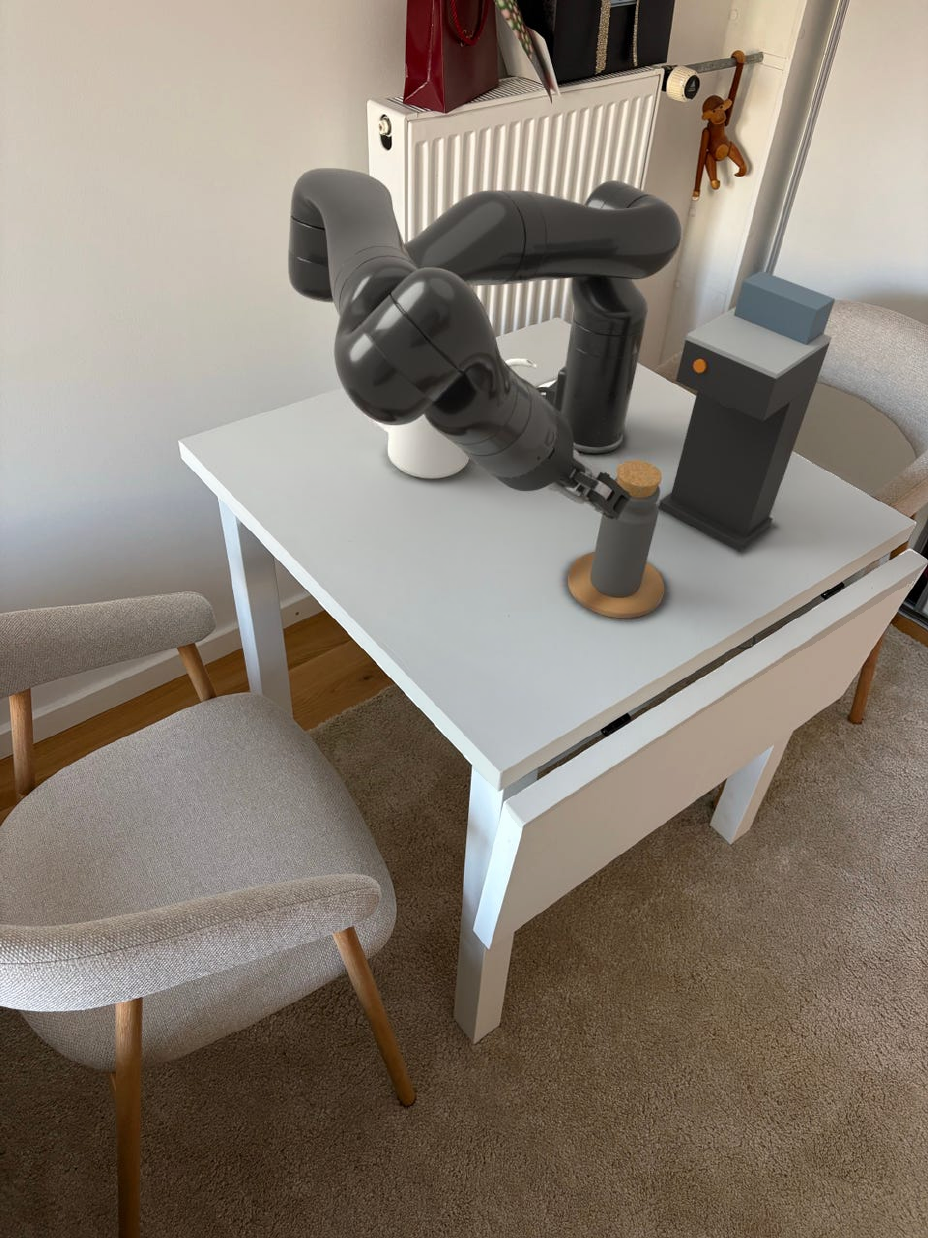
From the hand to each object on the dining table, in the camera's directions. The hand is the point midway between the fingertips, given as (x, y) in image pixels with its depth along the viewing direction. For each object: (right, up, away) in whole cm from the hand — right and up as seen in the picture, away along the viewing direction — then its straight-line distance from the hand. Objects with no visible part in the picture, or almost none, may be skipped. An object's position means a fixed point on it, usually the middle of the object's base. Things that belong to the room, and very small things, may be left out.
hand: (578, 488), depth 94 cm
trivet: (+6, -9, +20) cm, 23 cm away
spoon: (+7, +24, +55) cm, 60 cm away
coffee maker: (+19, -1, +29) cm, 35 cm away
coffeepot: (-15, +9, +36) cm, 40 cm away
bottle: (+6, -8, +19) cm, 22 cm away
